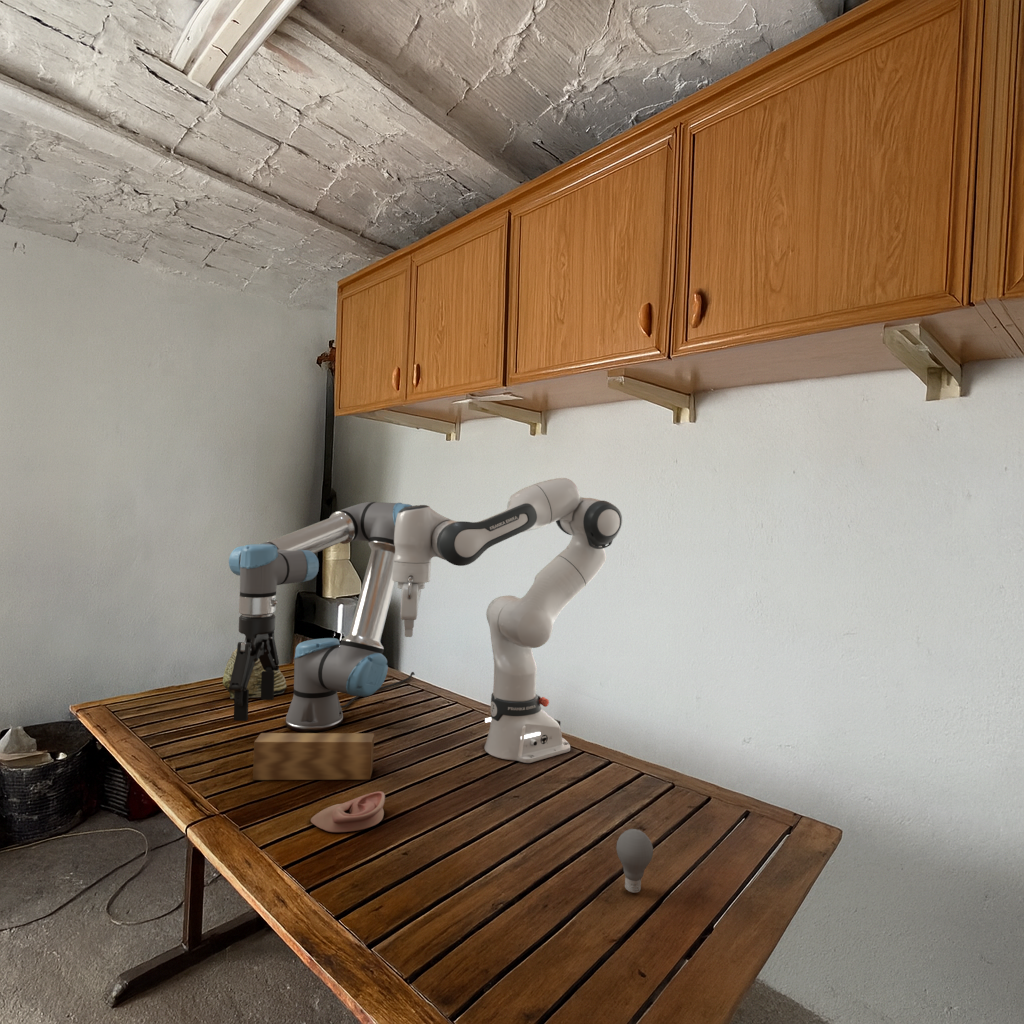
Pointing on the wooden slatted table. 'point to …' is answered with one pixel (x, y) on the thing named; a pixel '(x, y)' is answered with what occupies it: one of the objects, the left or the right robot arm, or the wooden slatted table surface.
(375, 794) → the anatomical model
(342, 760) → the bar
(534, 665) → the right robot arm
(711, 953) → the wooden slatted table surface
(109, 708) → the wooden slatted table surface
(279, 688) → the fossil
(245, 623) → the left robot arm
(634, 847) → the light bulb
